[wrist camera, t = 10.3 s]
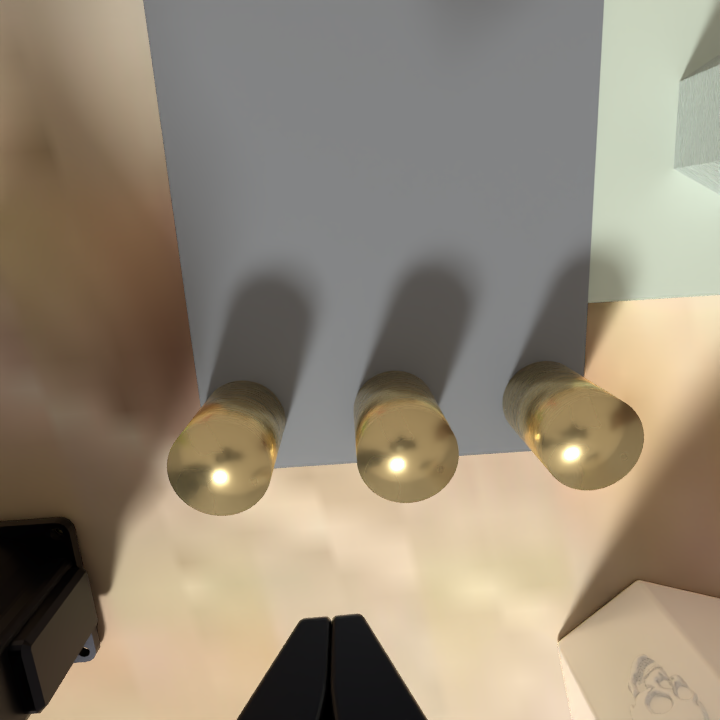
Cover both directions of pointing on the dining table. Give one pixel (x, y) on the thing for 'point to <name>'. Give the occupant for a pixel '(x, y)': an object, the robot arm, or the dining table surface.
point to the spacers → (405, 437)
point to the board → (380, 199)
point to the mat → (651, 156)
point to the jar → (645, 657)
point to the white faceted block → (699, 126)
